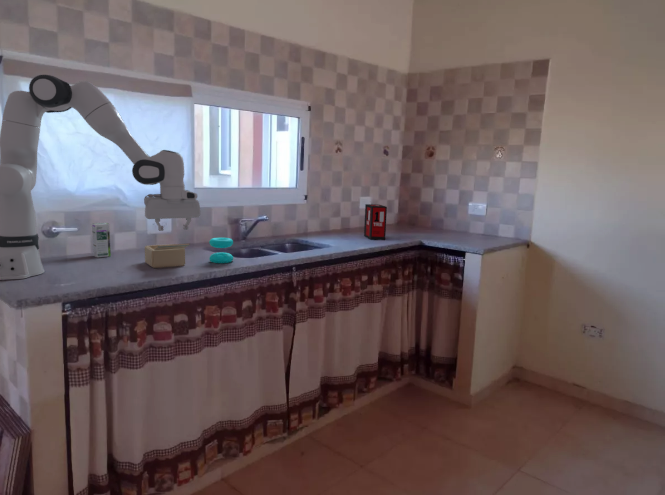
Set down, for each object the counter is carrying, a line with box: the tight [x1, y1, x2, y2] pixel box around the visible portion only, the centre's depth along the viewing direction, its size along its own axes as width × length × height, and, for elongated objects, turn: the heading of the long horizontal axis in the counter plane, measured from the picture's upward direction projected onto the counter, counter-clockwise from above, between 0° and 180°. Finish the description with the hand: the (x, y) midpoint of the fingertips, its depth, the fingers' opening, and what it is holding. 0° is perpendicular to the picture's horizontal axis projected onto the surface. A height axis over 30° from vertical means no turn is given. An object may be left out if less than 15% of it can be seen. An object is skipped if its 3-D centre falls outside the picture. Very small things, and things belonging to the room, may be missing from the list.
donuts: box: [208, 237, 234, 264], centre depth 203 cm, size 10×10×10 cm
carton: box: [144, 243, 186, 269], centre depth 195 cm, size 13×14×7 cm
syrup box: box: [91, 222, 112, 259], centre depth 205 cm, size 6×6×14 cm
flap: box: [154, 243, 191, 250], centre depth 185 cm, size 12×1×8 cm
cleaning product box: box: [363, 203, 388, 241], centre depth 289 cm, size 16×9×20 cm, turn 10°
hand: (173, 230), depth 182 cm, fingers open, 8 cm apart
